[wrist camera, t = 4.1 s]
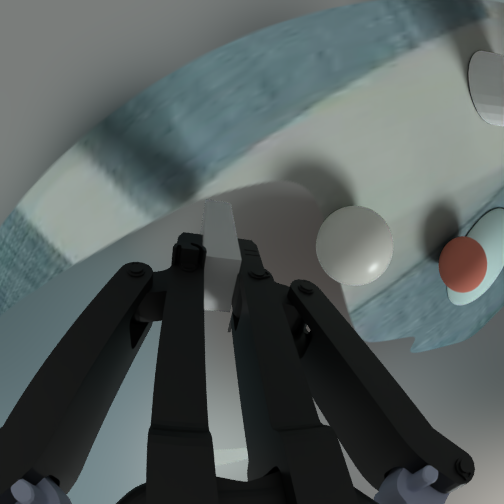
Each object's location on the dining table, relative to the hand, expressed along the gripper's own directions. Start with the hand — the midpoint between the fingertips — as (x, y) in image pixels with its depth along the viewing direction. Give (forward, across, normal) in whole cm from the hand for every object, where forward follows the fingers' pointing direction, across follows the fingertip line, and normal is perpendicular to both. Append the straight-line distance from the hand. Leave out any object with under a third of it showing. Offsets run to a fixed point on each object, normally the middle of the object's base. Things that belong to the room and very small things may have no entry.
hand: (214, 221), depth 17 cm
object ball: (-1, +24, 0) cm, 24 cm away
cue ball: (-1, +10, 0) cm, 10 cm away
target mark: (+2, +33, 0) cm, 33 cm away
